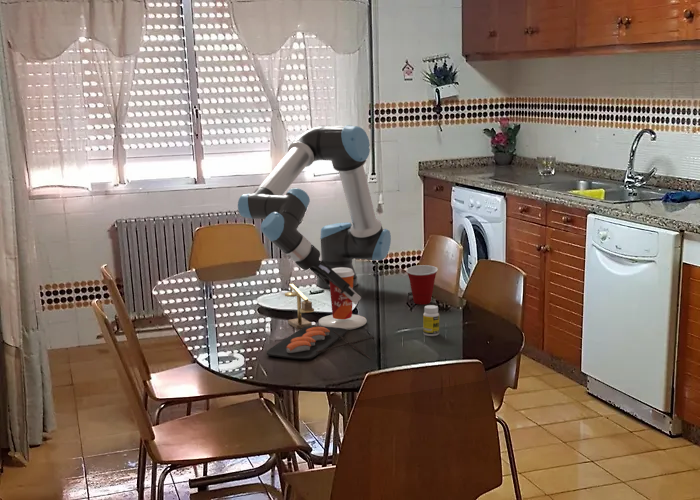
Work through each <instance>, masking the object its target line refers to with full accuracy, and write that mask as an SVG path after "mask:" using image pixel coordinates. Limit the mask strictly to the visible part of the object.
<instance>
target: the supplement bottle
mask: <svg viewBox="0 0 700 500" xmlns="http://www.w3.org/2000/svg"><path fill="white" fill-rule="evenodd" d="M422 317H423V319H422V321H423V322H422V326H423V328H422V329H423V330H422V333H423V335H424V336H426V337H427V336H428V337H435V336H438V335H440V313H439V307H438V305H434V304H426V305H425V306H424V312H423V316H422Z"/></svg>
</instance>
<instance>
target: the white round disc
mask: <svg viewBox="0 0 700 500" xmlns="http://www.w3.org/2000/svg"><path fill="white" fill-rule="evenodd" d="M367 322H368V321H367V318H366V317H364V316H362V315H359V314H354V313H352V317H351V318H348V319H335V318H333V315H332V314H330V315H326V316H323V317H321V318H319V319H318V326H326V327H336V328H343V329H346V330H347V331H349V330H350V331H351V330H357V329H359V328H361V327H363V326H365V325H366V324H367Z"/></svg>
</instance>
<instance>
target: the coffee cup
mask: <svg viewBox="0 0 700 500" xmlns="http://www.w3.org/2000/svg"><path fill="white" fill-rule="evenodd" d="M332 270H333V271H334V272H335V273H336V274H338V275H339V276H340V277H341V278H342V279H343V280H344V281H346V282H347V283H348V284H349V285H350V287H351V288H352V289H353V290H354V287H353V275H354V272H353V270H352V269H351V268H344V267H341V268H333V269H332ZM329 290H330V291H329V292H330V302H331V303H330V304H331V305H330V306H331V315H333V318H335V319H348V318H351V317H352V314H353V302H352V301H351V300H350V299H349V298H348V297H347V296H346V295H345V294H344V293H340V292H341V290H340V289H339V288H338V287H337V286H335V285H334V284H333V283H332V282H331V281H330V289H329Z"/></svg>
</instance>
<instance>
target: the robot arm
mask: <svg viewBox="0 0 700 500" xmlns="http://www.w3.org/2000/svg"><path fill="white" fill-rule="evenodd" d="M370 145H371V144H370V140H369V136H368V134H367V132H366V130H364V129H363V128H362V127H360V126H358V125H356V126H355V125H350V124H347V125H318V126H315V127H312V128H310V129H308V130H306V131H304V132H303V133H301V134H300V135H298V136H297V137H296V138H295V139H294V140H293V141H292V142H291V143H290V144H289V146H288V147H287V153H286V154H285V155H284V156H283V157H282V159H281V160H280V161H279V162H278V163H277V164H276V165H275V167H274V168H273V169H272V170H271V172H270V173H269V174H268V175H267V176H266V177H265V179H263V181H262V182H261V183H260V184H259V186H258V187H257V188H256V189H255V190H254V191H253V193H244V194H241V196H240V197H239V198H238V202H237V210H238V213H239V215H240V216H241V217H243V218H246V219H247V218H248V219H253V220H254V219H255V220H262V222H261V224H260V231H261V233H262V234H263V235H264V236H265V237H266V238H267V239H268V240H269V241H270V242H271V243H272V244H274V246H276V247H277V248H278V249H279V250H280V251H281V252H283V253H284V254H285V255H287V256H286V259H288V260H289V259H291V261H293V262H295V264H296V265H297V266H298V267H299V268H300V269H301V270H303V271H307V270H310V271H311V272H312V273H313V274H314V275H315V276H317V280H316V281H317V282H316V283H317V286H318V287H319V288H322V289H329V290H330V281H331V282H332V283H333V284H334V285H335V286H337V287H338V288H339V289H340V290H341V292H340V293H344V294H345V295H346V296H347V297H348V298H349V299H350V300H351V301H352V304H355V305H357V304H358V303H359V302H360V300H361V299H362V296H360V295H359V294H358V293H357V292H356V291H355V290H354V287H355V286H357V285H358V277H357V274H356V271H355V268H354V264H353V260H361V261H362V260H364V261H372V262H374V261H383V260H384V259H385V258H387V256H388V254H389V251H390V248H391V244H392V243H391V241H392V237H391V232H390V230H388V229H387V228H383V224H382V222H381V221H380V220H379V219H378V218H376V213H375V209H374V205H373V200H372V196H371V193H370V189H369V184H368V179H367V176H366V171H365V168H364V165H365V164H366V162H367V159H369V154H370V152H371V151H370V150H371V149H370ZM316 161H331V164H332V167H333V169H334V170H335V171H337V172H338V173H339V177H340V181H341V185H342V188H343V191H344V192H343V193H344V197H345V200H346V204H347V207H348V212H349V215H350V219H351V222H337V223H332V224H327V225H324V226H322V227H321V229H320V238H319V240H320V250H319V249H318V248H316V246H315V245H314V244H312V242H310V241H309V239H307V238H306V237H305V236H304V235H303V234H301V233H300V232H299V230H298V228H299V226H300V224H301V223H302V220H303V217H304V216H305V214H306V213H307V211H308V207H309V204H310V202H311V201H310V200H311V199H310V195H308V193H307V192H306V191H304V190H303V189H302V188H299V187H292V188H290V187H291V185H292V184H293V183H294V182H295V180H296V179H297V178H298V177H299V175H300V174H301V173H302V172H303V170H304V169H305V168H307V167H310V166H311V165H312V164H313V163H314V162H316ZM289 188H290V189H289ZM286 191H287V192H286ZM284 194H285V195H284ZM320 258H321V260H320ZM341 267H344V268H351V269H352V270H353V272H354V275H353V289H352V288H351V287H350V285H349V284H348V283H347V282H346V281H344V280H343V279H342V278H341V277H340V276H339V275H338V274H336V273H335V272H334V271H333V270H332V269H333V268H341Z"/></svg>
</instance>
